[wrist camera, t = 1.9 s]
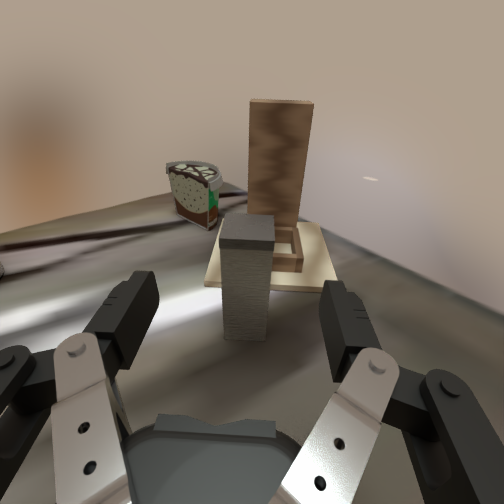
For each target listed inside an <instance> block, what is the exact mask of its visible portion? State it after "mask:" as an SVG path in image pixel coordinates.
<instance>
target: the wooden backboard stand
mask: <svg viewBox="0 0 504 504" xmlns="http://www.w3.org/2000/svg"><path fill="white" fill-rule="evenodd" d="M313 109H314V104H313V103H312V102H310V101H294V100H293V101H292V100H269V99H266V100H265V99H251V101H250V118H249V163H248V164H249V165H248V209H247V214H256V215H274V231H275V246H274V251H273V261H272V272H271V283H270V290H282V291H300V292H319V293H322V289H323V285H324V281H325V280H337V277H336V274H335V271H334V268H333V265H332V262H331V259H330V256H329V253H328V250H327V247H326V244H325V241H324V238H323V235H322V232H321V229H320V226H319V223H312V222H297V221H298V214H299V206H300V199H301V193H302V186H303V178H304V172H305V165H306V158H307V151H308V144H309V137H310V130H311V123H312V116H313ZM223 221H224V218H223V219H222V222H221V226H220V229H219V232H218V236H217V239H216V243H215V246H214V249H213V253H212V256H211V259H210V263H209V266H208V269H207V273H206V276H205V279H204V285H205V286H207V287H222V285H221V265H220V248H219V235H220V231H221V228H222V224H223Z"/></svg>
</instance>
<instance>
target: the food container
mask: <svg viewBox="0 0 504 504" xmlns="http://www.w3.org/2000/svg"><path fill="white" fill-rule="evenodd" d="M166 174H168V175H169V180H170V184H171V190H172V194H173V199H174V204H175V209H176V213H177V215H178V216H180V217H182V218H184V219H186V220H188V221H190V222H192V223H193V224H195V225H197V226H199V227H201V228H203V229H205V230H207V231H210V230H211V229H213V228H214V227H215V226H216V225H217V221H218V198H219V187H220V186H221V185H222V183H223V180H222V176H221V172H220V171H219V168H218V167H217V166H215V165H213V164H210V163H206V162H201V161H177V162H170V163H166Z"/></svg>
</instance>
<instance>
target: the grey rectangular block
mask: <svg viewBox="0 0 504 504" xmlns="http://www.w3.org/2000/svg"><path fill="white" fill-rule="evenodd" d="M274 246H275V231H274V215H256V214H235V213H226V214H225V217H224V221H223V224H222V228H221V231H220V235H219V248H220V265H221V285H222V306H223V326H224V339H231V340H248V341H265V338H266V327H267V316H268V305H269V294H270V283H271V272H272V261H273V251H274Z"/></svg>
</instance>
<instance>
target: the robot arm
mask: <svg viewBox="0 0 504 504" xmlns="http://www.w3.org/2000/svg"><path fill="white" fill-rule="evenodd" d="M3 272H4V267H3V266H2V264H1V263H0V277H1V276H2V275H3ZM158 306H159V292H158V288H157V284H156V279H155V275H154V273H153V272H152V271H135V272H134V273H133V274H132V276H131V277H130V279H129V280H128V281H122V282H121V283H120V284H118V285H117V286H116V287H114V288H113V290H112V291H111V292H110V294H109V295H108V298H106V299H105V301H104V302H103V305H102V306H100V308H99V309H98V311H97V312H96V314H95V315H94V316H93V318H92V319H91V321H90V322H89V323H88V325H87V326H86V328H85V329H84V330H83V332H82V333H78V334H75V335H73V336H70V337H69V338H67V339H65V340H64V341H63V342H62V343H60V345H59V346H58V347H57V348H55V349H51V350H46V351H41V352H37V353H31V352H30V350H29V349H28V348H27V347H25V346H22V345H16V346H11V347H8V348H5V349H3V350H1V351H0V415H1V413H2V412H3V411H4V409H5V408H6V406H7V405H8V406H9V407H8V408H7V409H6V411H5V412H4V413H3V415H2V416H1V418H0V501H1V499H2V497H3V495H4V494H5V492H6V490H7V488H8V487H9V485H10V483H11V482H12V480H13V478H14V476H15V475H16V473H17V471H18V469H19V468H20V466H21V464H22V462H23V461H24V459H25V457H26V456H27V454H28V452H29V450H30V449H31V447H32V445H33V443H34V442H35V440H36V438H37V436H38V435H39V433H40V431H41V430H42V428H43V426H44V424H45V423H46V421H47V419H48V417H49V416H50V414H51V421H52V437H53V453H54V469H55V485H56V501H57V503H56V504H351V502H352V500H353V497H354V494H355V492H356V489H357V487H358V484H359V482H360V479H361V477H362V474H363V471H364V469H365V466H366V464H367V461H368V459H369V456H370V454H371V451H372V448H373V446H374V443H375V441H376V438H377V436H378V433H379V430H380V427H381V422H383V423H386V424H388V425H391V426H393V427H396V428H398V429H401V431H402V434H403V437H404V440H405V443H406V446H407V450H408V453H409V456H410V459H411V462H412V465H413V468H414V471H415V474H416V478H417V481H418V484H419V487H420V490H421V493H422V496H423V499H424V502H425V504H504V446H503V444H502V442H501V441H500V439H499V437H498V435H497V434H496V432H495V430H494V429H493V427H492V425H491V423H490V422H489V420H488V418H487V416H486V415H485V413H484V411H483V410H482V408H481V406H480V404H479V403H478V401H477V399H476V398H475V396H474V394H473V392H472V391H471V389H470V388H469V387H468V385H467V384H466V383H465V382H464V381H463V380H461V379H460V378H459V377H457V376H456V375H454V374H452V373H450V372H448V371H445V370H440V369H434V370H431V371H429V372H428V373H427V375H423V374H420V373H417V372H414V371H411V370H408V369H405V368H402V367H400V366H398V365H397V363H396V361H395V360H394V359H393V358H392V357H391V356H390V355H389V354H387V353H386V352H384V351H383V350H382V348H381V346H380V343H379V341H378V338H377V336H376V334H375V331H374V329H373V326H372V324H371V322H370V320H369V317H368V314H367V312H366V310H365V307H364V305H363V302H362V300H361V299H360V298H359V297H358V296H357V295H356V294H355V293H354V292H347V291H346V288H345V286H344V283H343V281H340V280H325V281H324V285H323V289H322V294H321V298H320V302H319V318H320V323H321V327H322V332H323V337H324V341H325V346H326V351H327V355H328V360H329V365H330V369H331V374H332V379H333V382H336V383H342V384H341V385H340V387H339V389H338V390H337V392H335V393H334V394H333V396H332V397H331V399H330V401H329V402H328V404H327V406H326V408H325V409H324V411H323V413H322V414H321V416H320V418H319V420H318V421H317V423H316V425H315V426H314V428H313V430H312V432H311V433H310V435H309V437H308V438H307V440H306V442H305V444H304V445H303V447H301V446H300V445H299V444H298V443H297V442H296V441H295V440H293V439H292V438H290V437H289V436H288V435H286V434H284V433H282V432H280V431H277V430H276V425H275V421H267V420H250V419H245V420H241V421H236V422H232V423H228V424H223V425H219V426H214V425H210V424H208V423H205V422H202V421H200V420H197V419H194V418H192V417H189V416H185V415H169V414H158V416H157V419H156V423H154V424H151V425H148V426H145V427H143V428H141V429H139V430H137V431H135V432H134V433H132V430H131V428H130V425H129V422H128V420H127V416H126V413H125V409H124V406H123V402H122V398H121V395H120V391H119V388H118V384H117V380H116V378H115V376H116V374H117V372H118V370H119V369H123V370H129V369H130V367H131V365H132V363H133V360H134V358H135V356H136V354H137V352H138V350H139V347H140V345H141V343H142V341H143V339H144V337H145V335H146V332H147V330H148V328H149V326H150V324H151V322H152V319H153V317H154V315H155V313H156V311H157V309H158Z"/></svg>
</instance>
